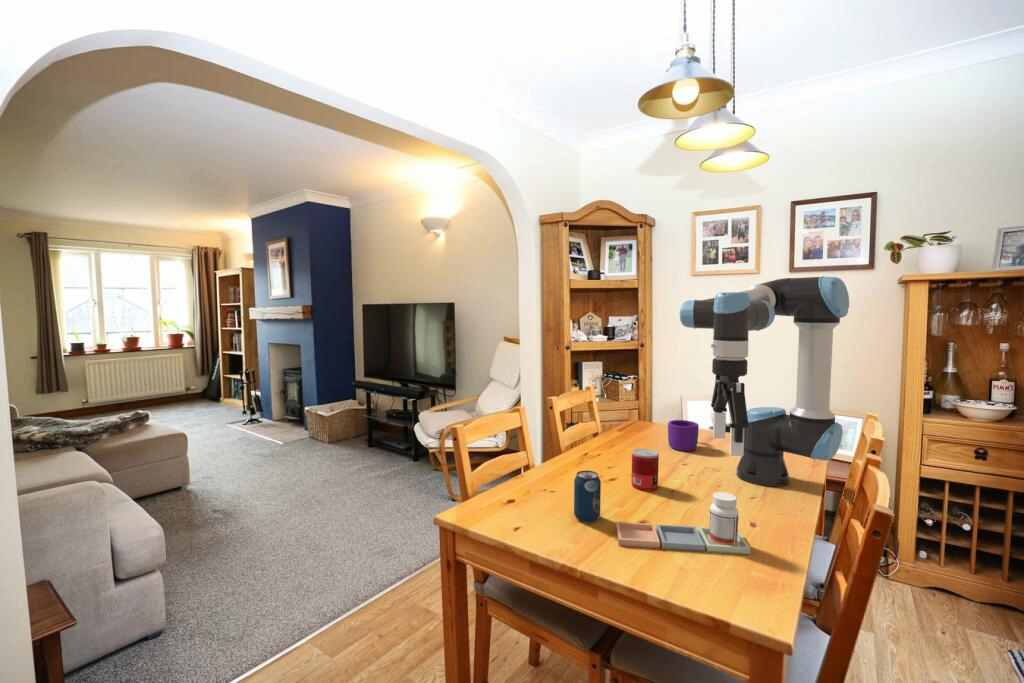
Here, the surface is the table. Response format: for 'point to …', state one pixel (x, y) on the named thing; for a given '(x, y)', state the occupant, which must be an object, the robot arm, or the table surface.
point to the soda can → (587, 496)
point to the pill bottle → (724, 519)
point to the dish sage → (711, 547)
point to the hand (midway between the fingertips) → (727, 446)
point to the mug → (683, 435)
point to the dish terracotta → (637, 535)
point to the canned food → (645, 469)
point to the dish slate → (680, 537)
